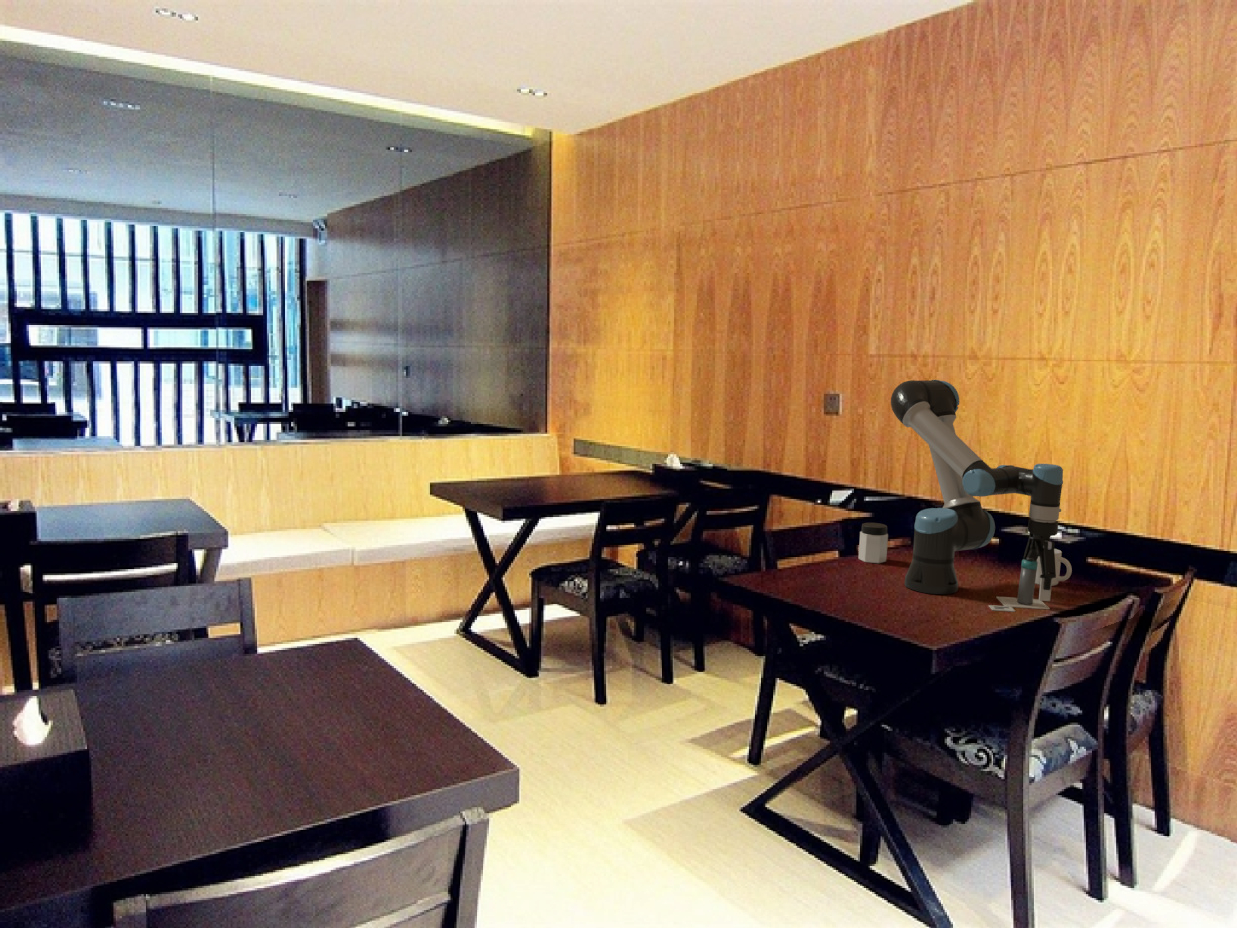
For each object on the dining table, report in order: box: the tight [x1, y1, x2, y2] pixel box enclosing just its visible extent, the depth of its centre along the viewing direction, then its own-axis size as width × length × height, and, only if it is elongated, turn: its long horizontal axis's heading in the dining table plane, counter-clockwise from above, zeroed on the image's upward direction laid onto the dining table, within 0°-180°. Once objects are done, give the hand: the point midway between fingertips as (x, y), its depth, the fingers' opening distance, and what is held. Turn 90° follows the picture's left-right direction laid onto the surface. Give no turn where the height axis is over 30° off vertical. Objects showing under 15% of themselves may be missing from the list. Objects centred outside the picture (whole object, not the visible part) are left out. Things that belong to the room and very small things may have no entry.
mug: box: [1035, 548, 1073, 587], centre depth 277 cm, size 12×8×10 cm
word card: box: [988, 604, 1016, 613], centre depth 250 cm, size 6×4×1 cm, turn 82°
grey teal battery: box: [1016, 558, 1038, 604], centre depth 254 cm, size 4×4×13 cm
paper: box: [995, 596, 1051, 610], centre depth 256 cm, size 12×9×1 cm
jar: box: [858, 522, 889, 564], centre depth 300 cm, size 9×8×12 cm
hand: (1036, 593), depth 253 cm, fingers open, 13 cm apart
